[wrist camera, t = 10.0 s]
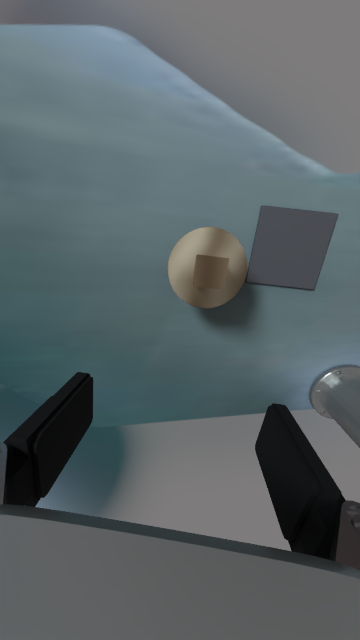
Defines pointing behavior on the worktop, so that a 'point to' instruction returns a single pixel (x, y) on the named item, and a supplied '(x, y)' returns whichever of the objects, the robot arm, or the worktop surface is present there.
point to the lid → (207, 267)
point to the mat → (290, 246)
